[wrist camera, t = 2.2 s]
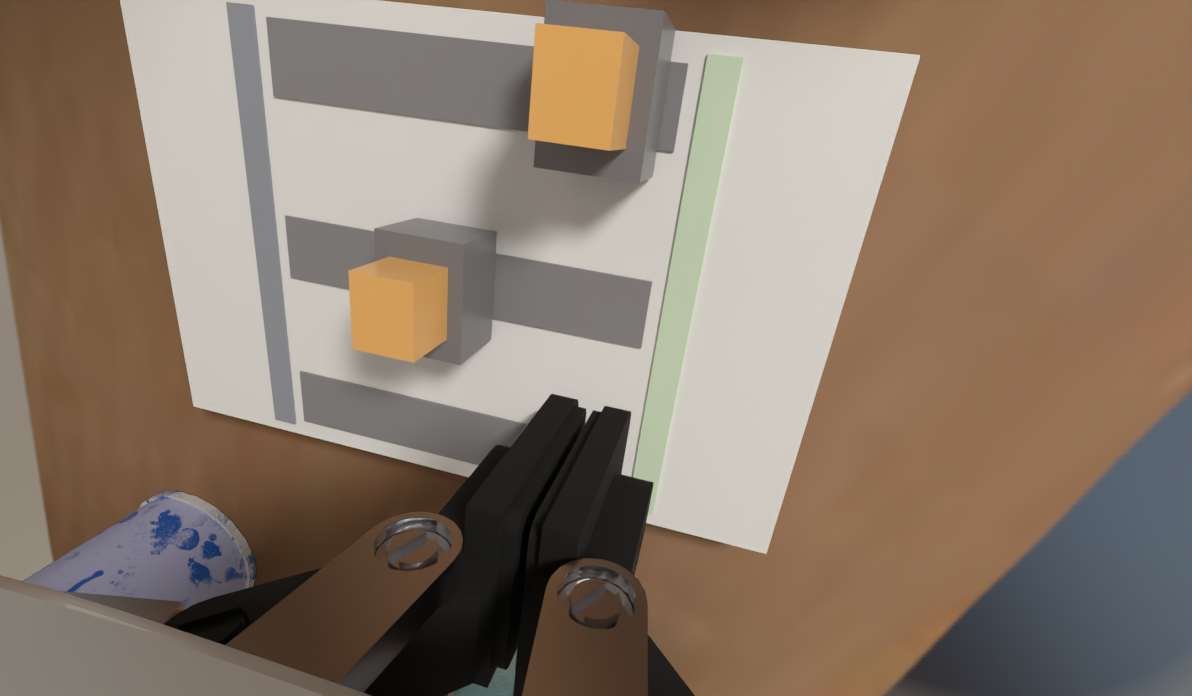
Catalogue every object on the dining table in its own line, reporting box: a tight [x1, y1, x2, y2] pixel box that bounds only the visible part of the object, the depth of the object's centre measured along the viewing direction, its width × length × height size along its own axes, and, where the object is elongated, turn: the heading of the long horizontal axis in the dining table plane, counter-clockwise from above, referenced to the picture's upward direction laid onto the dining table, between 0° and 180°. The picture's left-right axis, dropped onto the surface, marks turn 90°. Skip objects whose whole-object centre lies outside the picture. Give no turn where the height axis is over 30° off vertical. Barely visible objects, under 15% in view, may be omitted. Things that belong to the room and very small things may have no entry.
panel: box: [120, 0, 920, 554], centre depth 21 cm, size 17×26×2 cm, turn 83°
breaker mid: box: [348, 218, 497, 365], centre depth 18 cm, size 4×3×4 cm
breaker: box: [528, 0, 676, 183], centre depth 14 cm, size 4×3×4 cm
